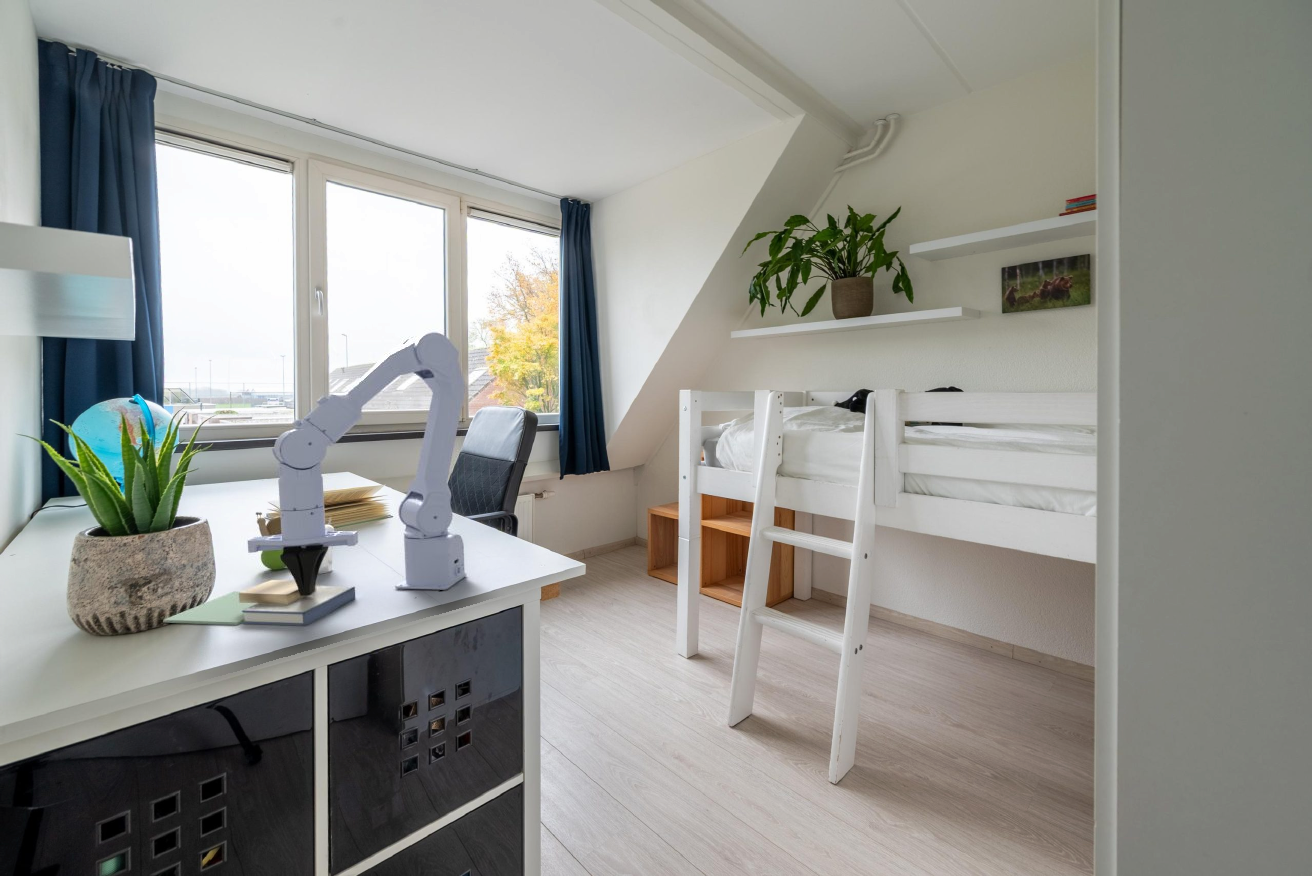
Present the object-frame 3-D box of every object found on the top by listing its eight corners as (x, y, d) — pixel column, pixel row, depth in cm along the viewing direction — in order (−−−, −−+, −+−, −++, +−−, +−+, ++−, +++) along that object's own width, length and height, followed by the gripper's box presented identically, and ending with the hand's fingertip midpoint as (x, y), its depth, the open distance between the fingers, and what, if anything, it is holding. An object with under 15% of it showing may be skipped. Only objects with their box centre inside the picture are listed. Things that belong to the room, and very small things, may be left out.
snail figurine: (249, 574, 103) (245, 512, 102) (279, 564, 109) (276, 505, 109) (273, 575, 102) (269, 513, 101) (302, 565, 108) (298, 506, 107)
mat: (299, 595, 91) (299, 593, 91) (236, 624, 79) (236, 622, 79) (234, 593, 92) (234, 591, 92) (163, 622, 81) (163, 619, 80)
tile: (316, 590, 88) (315, 581, 88) (287, 604, 82) (286, 594, 82) (271, 588, 89) (270, 580, 89) (239, 602, 83) (238, 592, 83)
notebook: (355, 598, 90) (354, 586, 89) (305, 625, 79) (304, 612, 78) (299, 596, 91) (299, 585, 90) (242, 623, 80) (242, 610, 80)
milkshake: (344, 566, 107) (341, 516, 106) (325, 575, 102) (322, 523, 101) (322, 566, 108) (320, 516, 107) (302, 575, 102) (299, 522, 101)
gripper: (361, 500, 89) (365, 581, 90) (261, 505, 86) (266, 589, 87) (348, 508, 82) (352, 595, 83) (238, 514, 79) (244, 605, 80)
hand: (307, 593), depth 84 cm, fingers closed
